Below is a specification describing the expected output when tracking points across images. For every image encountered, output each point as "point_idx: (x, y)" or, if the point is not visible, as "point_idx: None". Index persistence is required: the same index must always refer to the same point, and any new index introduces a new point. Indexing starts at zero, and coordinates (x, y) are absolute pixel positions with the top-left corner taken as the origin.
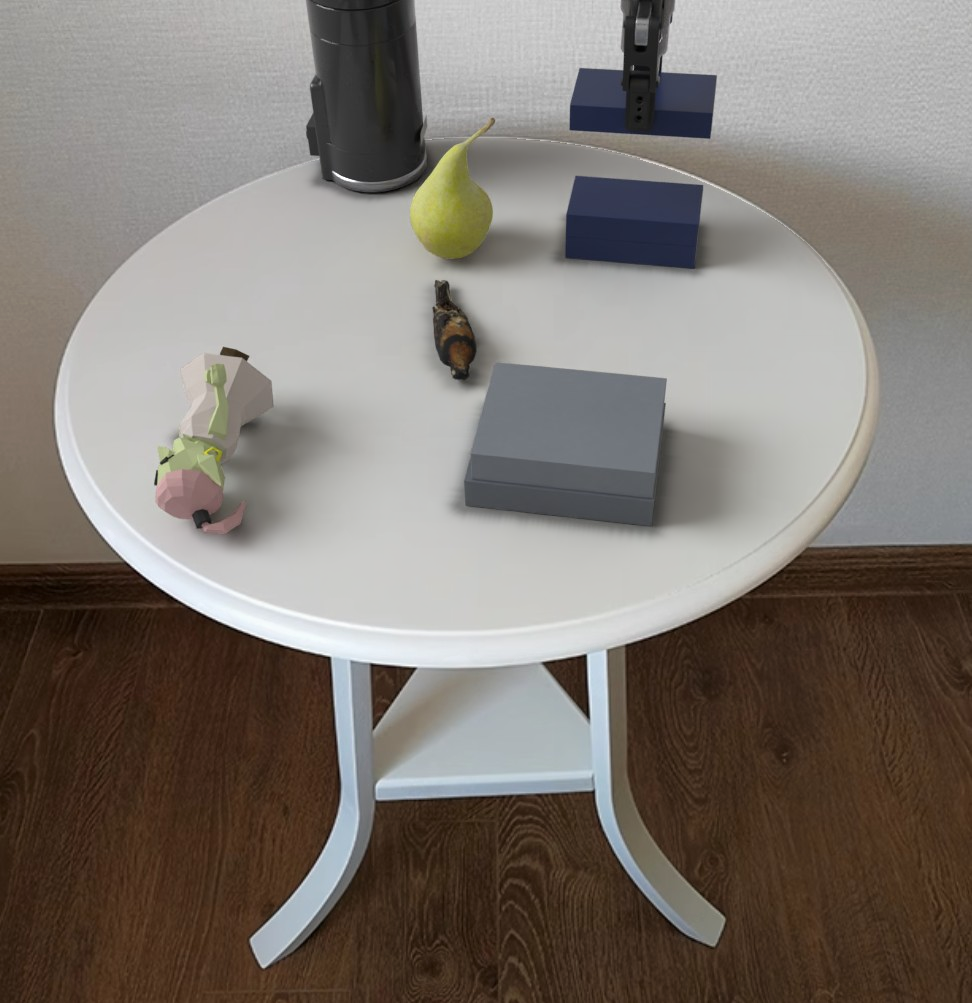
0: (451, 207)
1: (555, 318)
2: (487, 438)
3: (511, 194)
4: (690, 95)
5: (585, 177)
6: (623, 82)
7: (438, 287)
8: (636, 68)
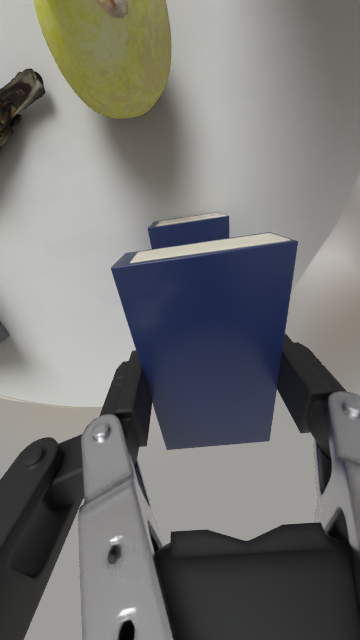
0: (49, 24)
1: (69, 238)
2: None
3: (257, 113)
4: (206, 427)
5: (225, 229)
6: (6, 474)
7: (20, 81)
8: (283, 358)
